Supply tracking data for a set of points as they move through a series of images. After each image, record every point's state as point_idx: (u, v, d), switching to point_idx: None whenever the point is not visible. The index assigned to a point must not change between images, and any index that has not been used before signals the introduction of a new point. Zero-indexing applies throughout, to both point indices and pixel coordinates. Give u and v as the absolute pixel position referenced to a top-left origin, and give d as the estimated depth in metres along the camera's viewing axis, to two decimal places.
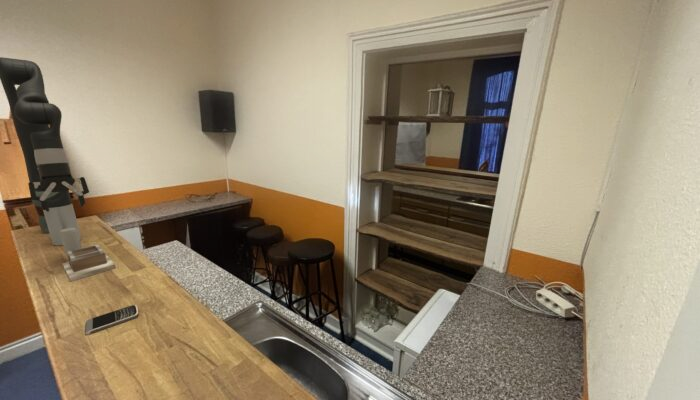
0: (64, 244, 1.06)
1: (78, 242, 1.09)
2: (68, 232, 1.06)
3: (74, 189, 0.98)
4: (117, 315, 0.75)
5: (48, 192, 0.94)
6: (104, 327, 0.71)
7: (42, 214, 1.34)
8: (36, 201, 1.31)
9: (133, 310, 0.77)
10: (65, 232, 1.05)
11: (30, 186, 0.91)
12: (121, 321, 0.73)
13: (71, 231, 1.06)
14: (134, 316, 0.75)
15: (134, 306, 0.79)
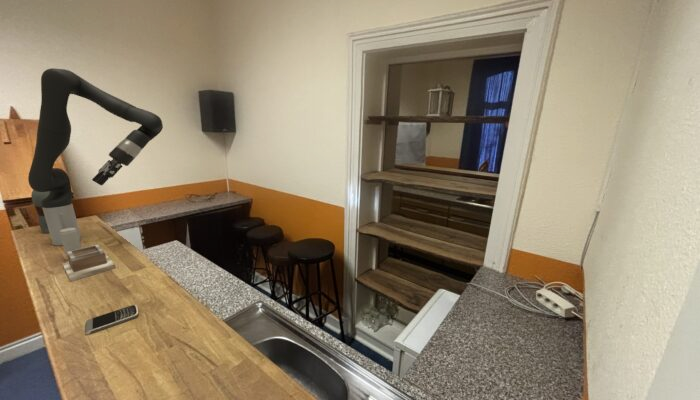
0: (64, 244, 1.06)
1: (78, 242, 1.09)
2: (68, 232, 1.06)
3: None
4: (117, 315, 0.75)
5: None
6: (104, 327, 0.71)
7: (42, 214, 1.34)
8: (36, 201, 1.31)
9: (133, 310, 0.77)
10: (65, 232, 1.05)
11: None
12: (121, 321, 0.73)
13: (71, 231, 1.06)
14: (134, 316, 0.75)
15: (134, 306, 0.79)
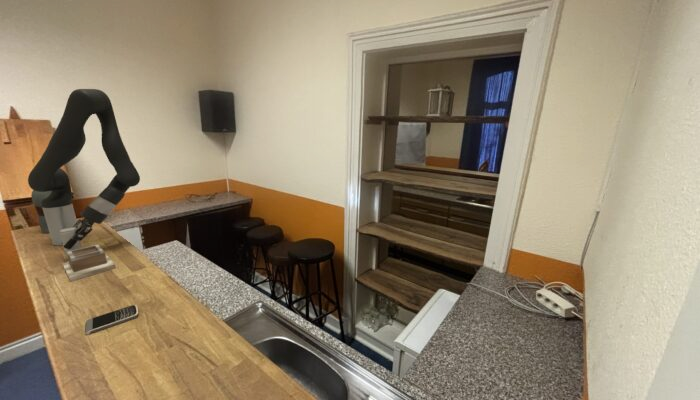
0: (64, 244, 1.06)
1: (78, 242, 1.09)
2: (68, 232, 1.06)
3: None
4: (117, 315, 0.75)
5: None
6: (104, 327, 0.71)
7: (42, 214, 1.34)
8: (36, 201, 1.31)
9: (133, 310, 0.77)
10: (65, 232, 1.05)
11: None
12: (121, 321, 0.73)
13: (71, 231, 1.06)
14: (134, 316, 0.75)
15: (134, 306, 0.79)
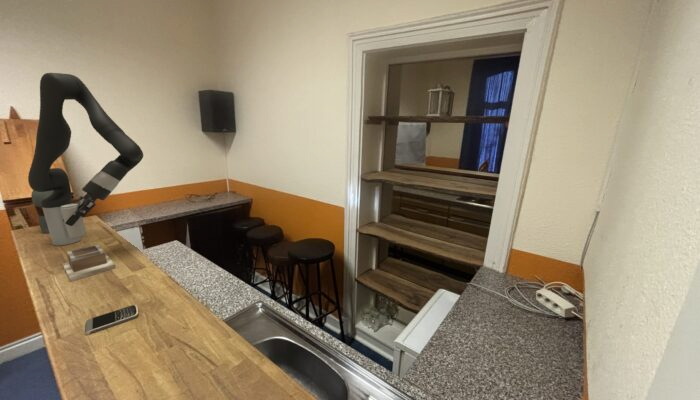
0: None
1: (80, 219, 1.03)
2: (70, 208, 1.00)
3: None
4: (117, 315, 0.75)
5: None
6: (104, 327, 0.71)
7: (42, 214, 1.34)
8: (36, 201, 1.31)
9: (133, 310, 0.77)
10: (66, 207, 0.99)
11: None
12: (121, 321, 0.73)
13: (73, 207, 1.00)
14: (134, 316, 0.75)
15: (134, 306, 0.79)
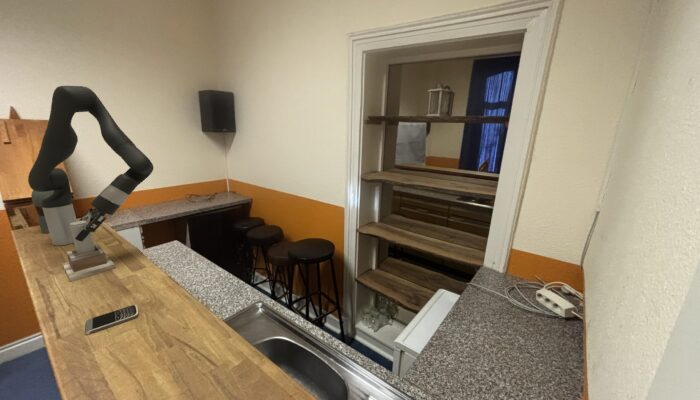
0: None
1: (89, 236, 1.00)
2: (79, 225, 0.97)
3: None
4: (117, 315, 0.75)
5: None
6: (104, 327, 0.71)
7: (42, 214, 1.34)
8: (36, 201, 1.31)
9: (133, 310, 0.77)
10: (76, 225, 0.97)
11: None
12: (121, 321, 0.73)
13: (82, 224, 0.98)
14: (134, 316, 0.75)
15: (134, 306, 0.79)
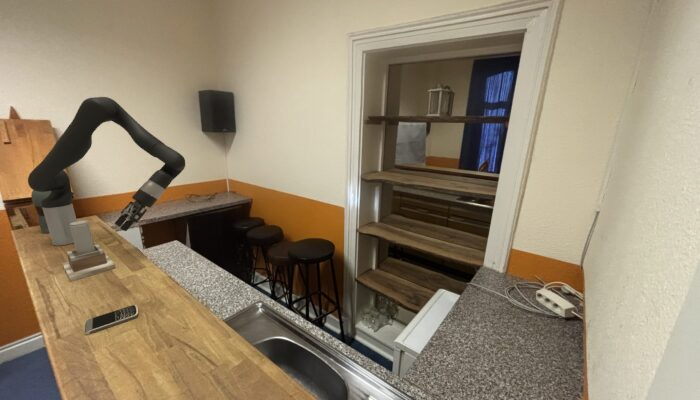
0: (74, 238, 0.97)
1: (89, 236, 1.00)
2: (79, 225, 0.97)
3: None
4: (117, 315, 0.75)
5: None
6: (104, 327, 0.71)
7: (42, 214, 1.34)
8: (36, 201, 1.31)
9: (133, 310, 0.77)
10: (76, 225, 0.97)
11: None
12: (121, 321, 0.73)
13: (82, 224, 0.98)
14: (134, 316, 0.75)
15: (134, 306, 0.79)
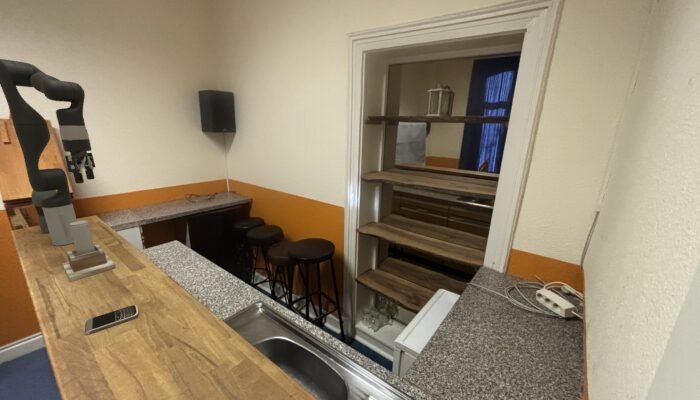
0: (74, 238, 0.97)
1: (89, 236, 1.00)
2: (79, 225, 0.97)
3: (91, 163, 1.09)
4: (117, 315, 0.75)
5: (83, 165, 1.04)
6: (104, 327, 0.71)
7: (42, 214, 1.34)
8: (36, 201, 1.31)
9: (133, 310, 0.77)
10: (76, 225, 0.97)
11: (75, 159, 1.00)
12: (121, 321, 0.73)
13: (82, 224, 0.98)
14: (134, 316, 0.75)
15: (134, 306, 0.79)
